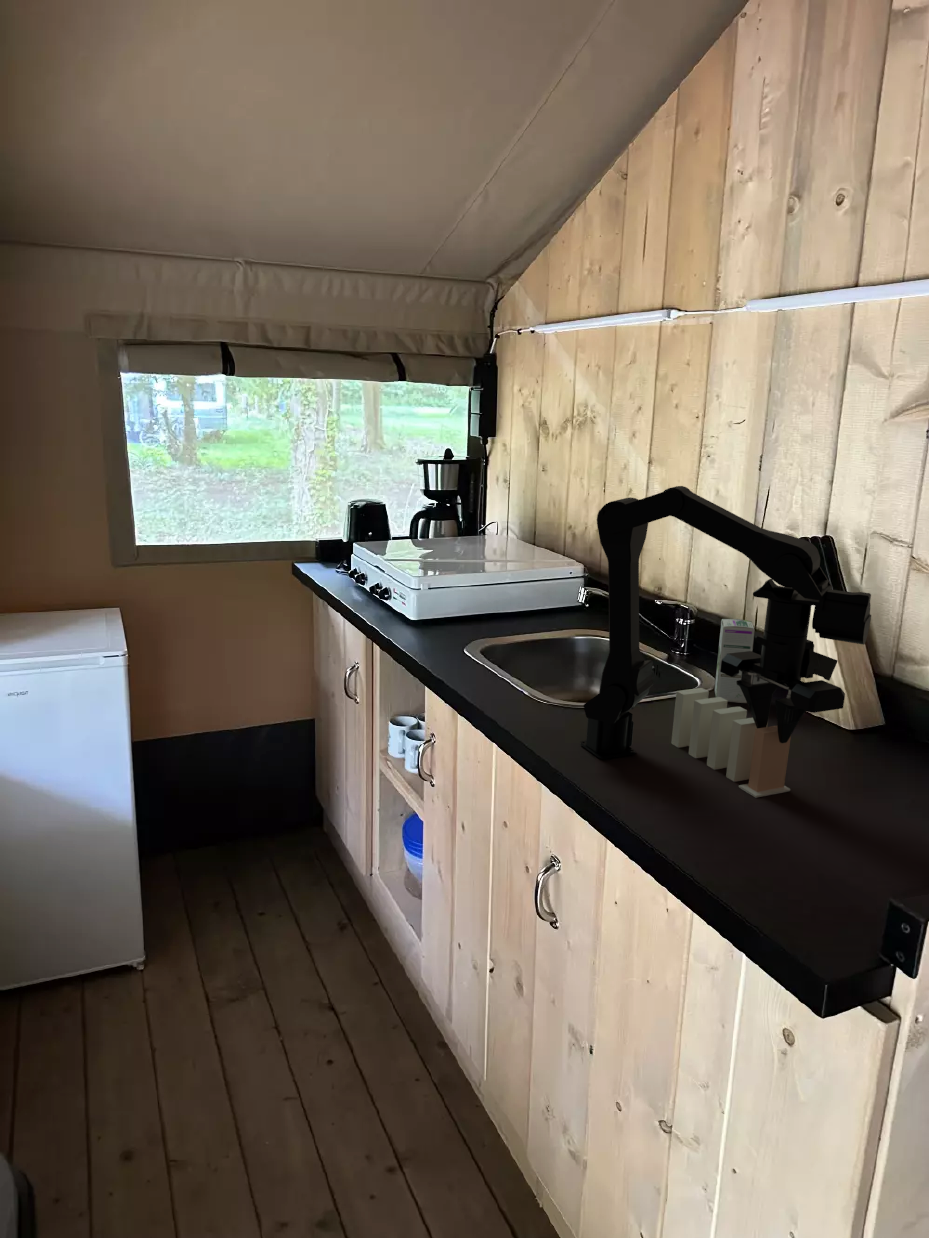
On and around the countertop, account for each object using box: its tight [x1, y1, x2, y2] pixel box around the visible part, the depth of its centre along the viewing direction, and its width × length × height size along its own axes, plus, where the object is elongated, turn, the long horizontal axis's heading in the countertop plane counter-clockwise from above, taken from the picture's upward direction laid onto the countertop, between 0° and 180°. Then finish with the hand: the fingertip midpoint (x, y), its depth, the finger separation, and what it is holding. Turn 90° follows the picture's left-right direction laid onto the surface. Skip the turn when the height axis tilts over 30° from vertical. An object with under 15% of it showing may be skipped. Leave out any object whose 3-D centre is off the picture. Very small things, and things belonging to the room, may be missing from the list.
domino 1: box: [670, 687, 710, 749], centre depth 146 cm, size 2×5×9 cm, turn 114°
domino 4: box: [725, 717, 769, 783], centre depth 135 cm, size 2×5×9 cm, turn 114°
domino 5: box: [748, 725, 792, 792], centre depth 131 cm, size 2×5×9 cm, turn 113°
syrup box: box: [714, 618, 756, 704], centre depth 169 cm, size 6×6×14 cm
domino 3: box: [706, 706, 748, 771], centre depth 138 cm, size 2×5×9 cm, turn 114°
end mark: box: [738, 783, 791, 798], centre depth 132 cm, size 6×4×1 cm, turn 114°
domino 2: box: [688, 696, 728, 759], centre depth 142 cm, size 2×5×9 cm, turn 114°
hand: (772, 736), depth 130 cm, fingers open, 4 cm apart
